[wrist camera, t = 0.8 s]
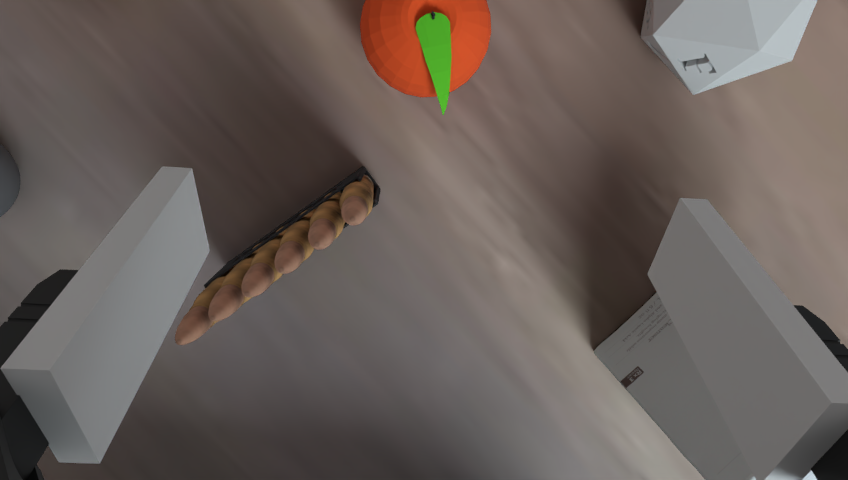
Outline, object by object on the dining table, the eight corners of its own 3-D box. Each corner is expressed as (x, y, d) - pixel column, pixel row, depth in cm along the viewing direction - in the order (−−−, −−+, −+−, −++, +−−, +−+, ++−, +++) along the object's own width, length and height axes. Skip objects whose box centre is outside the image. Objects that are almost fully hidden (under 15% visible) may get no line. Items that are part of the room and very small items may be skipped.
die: (597, -31, 32) (636, 51, 26) (744, -150, 28) (836, -86, 21) (658, 58, 37) (705, 147, 30) (794, -32, 32) (883, 50, 26)
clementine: (489, 105, 33) (520, 99, 26) (379, 128, 32) (380, 128, 25) (466, -33, 31) (493, -80, 24) (349, -11, 30) (342, -51, 24)
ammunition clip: (244, 287, 34) (174, 372, 22) (225, 264, 33) (144, 338, 21) (381, 190, 33) (385, 223, 21) (363, 165, 33) (358, 186, 21)
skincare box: (673, 268, 36) (875, 363, 22) (726, 323, 37) (951, 448, 23) (586, 355, 37) (724, 503, 22) (641, 406, 38) (806, 578, 24)
